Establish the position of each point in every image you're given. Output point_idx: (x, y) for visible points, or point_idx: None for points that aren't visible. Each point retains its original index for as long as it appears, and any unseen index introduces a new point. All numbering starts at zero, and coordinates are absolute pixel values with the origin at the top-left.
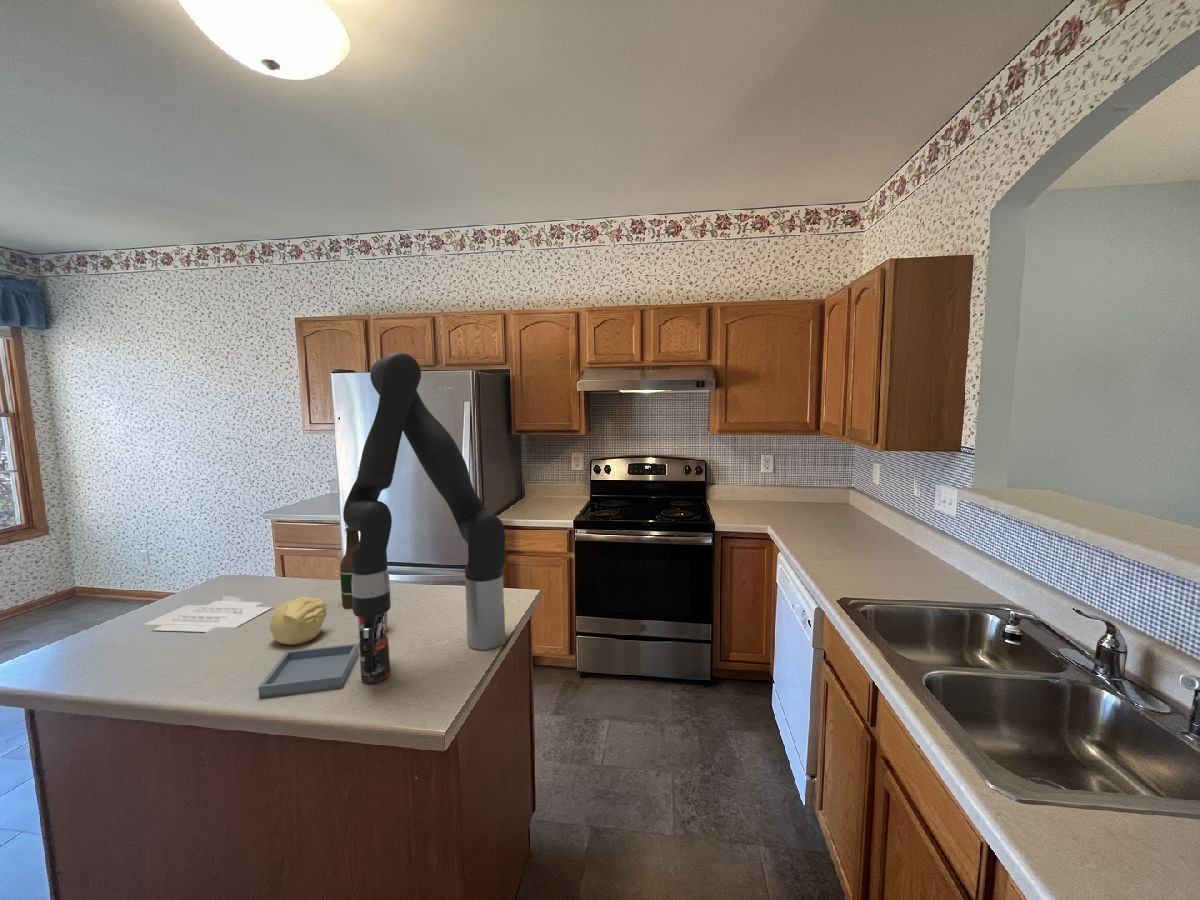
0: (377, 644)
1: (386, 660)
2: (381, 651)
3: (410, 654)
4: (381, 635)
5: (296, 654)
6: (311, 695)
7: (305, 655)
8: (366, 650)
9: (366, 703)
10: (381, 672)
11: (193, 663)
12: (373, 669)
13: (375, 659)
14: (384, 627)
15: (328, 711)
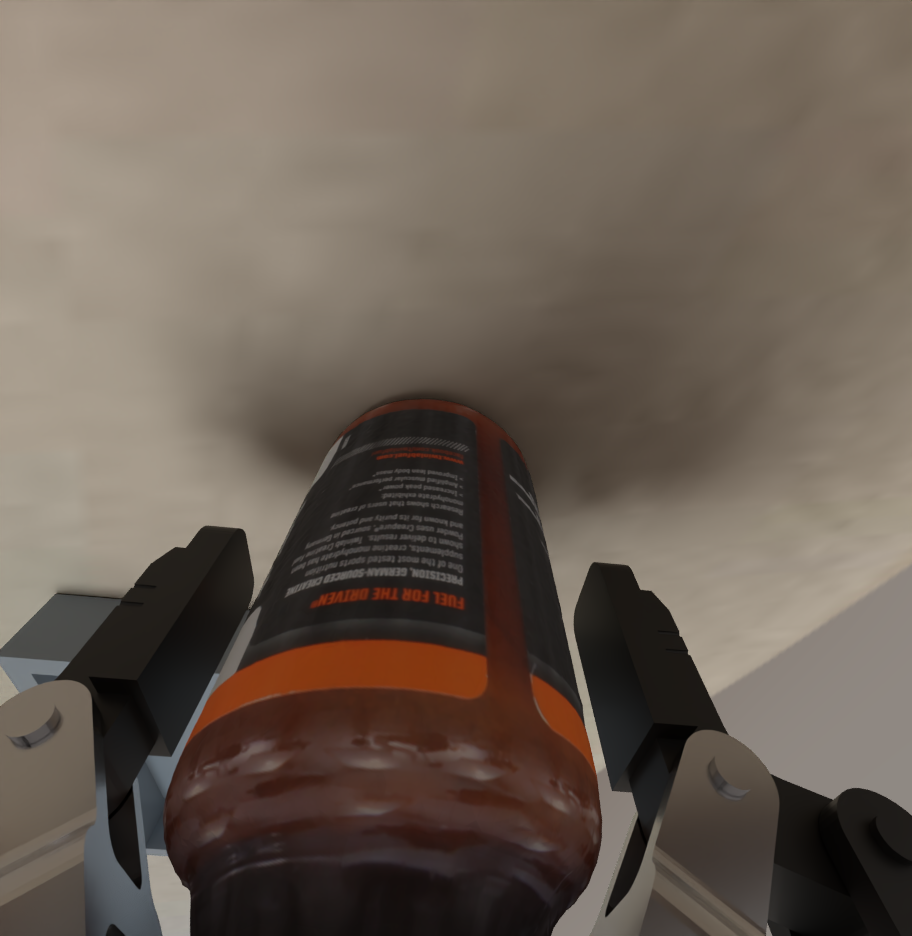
0: (601, 824)
1: (492, 504)
2: (555, 655)
3: (30, 211)
4: (453, 928)
5: (145, 818)
6: None
7: (140, 787)
8: (781, 912)
9: (761, 513)
10: (528, 488)
11: (164, 916)
12: (657, 600)
13: (668, 667)
14: (13, 917)
15: (706, 655)
